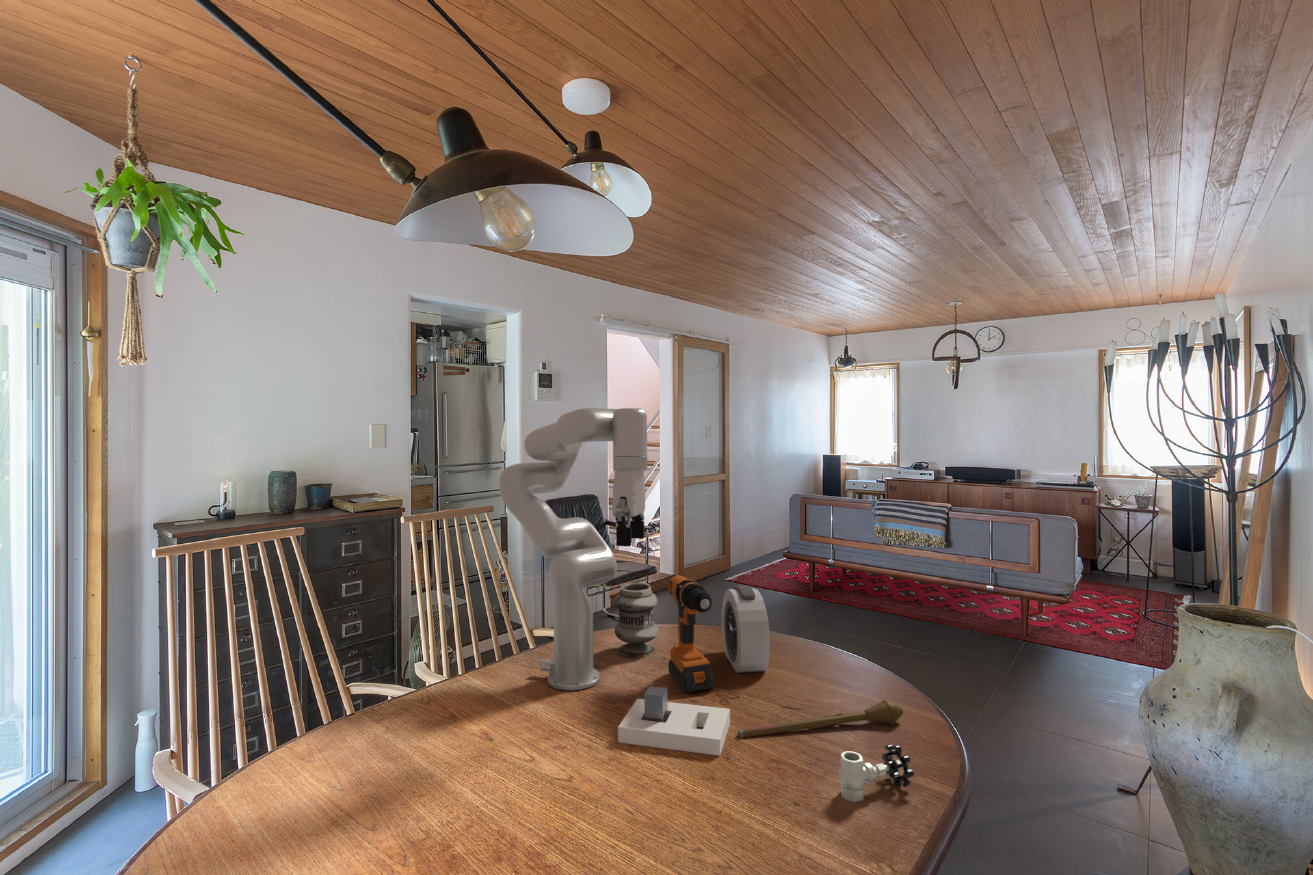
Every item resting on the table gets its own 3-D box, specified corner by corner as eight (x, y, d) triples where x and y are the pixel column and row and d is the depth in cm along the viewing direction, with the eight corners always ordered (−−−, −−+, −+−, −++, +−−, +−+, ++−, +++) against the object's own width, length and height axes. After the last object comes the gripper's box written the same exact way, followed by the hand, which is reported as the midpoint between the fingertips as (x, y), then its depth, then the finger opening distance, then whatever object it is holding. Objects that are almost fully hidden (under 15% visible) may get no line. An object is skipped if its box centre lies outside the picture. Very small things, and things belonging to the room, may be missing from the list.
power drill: (725, 702, 134) (725, 591, 134) (694, 707, 132) (693, 593, 132) (692, 667, 155) (692, 570, 155) (665, 670, 153) (664, 572, 152)
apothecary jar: (610, 657, 162) (609, 590, 162) (620, 642, 174) (619, 580, 174) (654, 660, 160) (653, 592, 160) (661, 644, 172) (661, 581, 172)
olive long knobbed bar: (743, 751, 117) (736, 741, 121) (908, 726, 122) (895, 718, 127) (741, 726, 117) (734, 717, 122) (906, 702, 123) (893, 694, 127)
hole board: (618, 742, 117) (618, 726, 117) (637, 712, 130) (637, 698, 130) (720, 755, 112) (719, 739, 112) (729, 723, 125) (729, 708, 125)
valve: (854, 810, 96) (914, 794, 100) (854, 769, 96) (914, 754, 100) (829, 787, 102) (886, 773, 106) (828, 748, 102) (886, 736, 106)
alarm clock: (721, 648, 168) (721, 577, 168) (748, 647, 169) (747, 576, 169) (740, 678, 147) (740, 598, 147) (770, 677, 148) (770, 596, 148)
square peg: (644, 733, 120) (644, 693, 120) (649, 724, 124) (649, 686, 124) (662, 736, 119) (662, 695, 119) (667, 727, 123) (667, 688, 123)
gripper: (626, 462, 142) (626, 535, 142) (600, 466, 125) (601, 548, 125) (656, 462, 140) (657, 536, 140) (634, 466, 123) (635, 550, 123)
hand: (630, 541), depth 133 cm, fingers open, 9 cm apart
